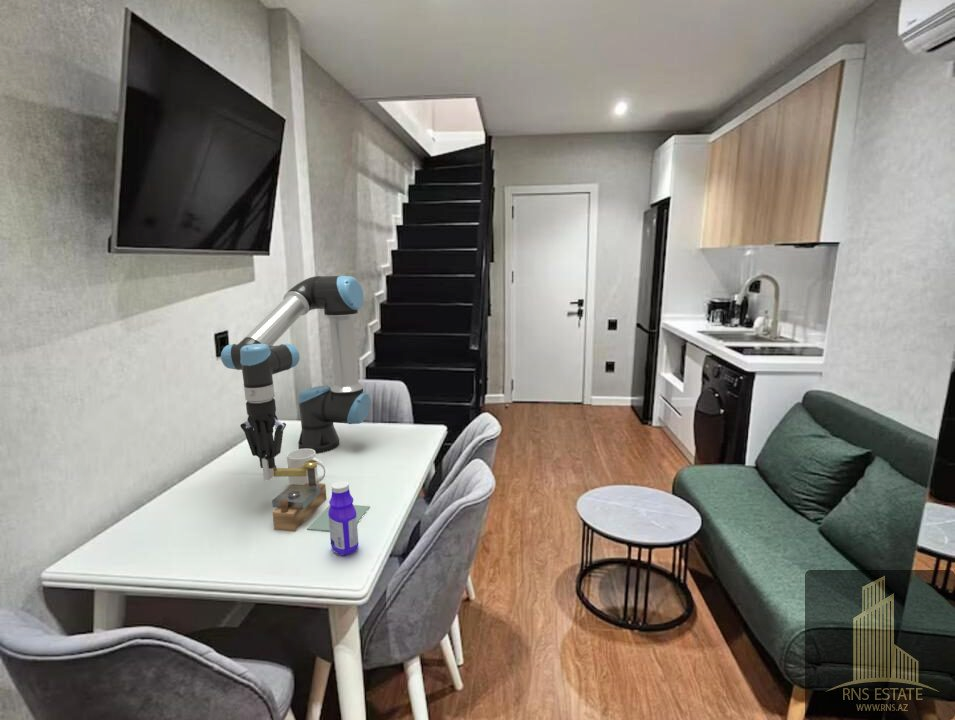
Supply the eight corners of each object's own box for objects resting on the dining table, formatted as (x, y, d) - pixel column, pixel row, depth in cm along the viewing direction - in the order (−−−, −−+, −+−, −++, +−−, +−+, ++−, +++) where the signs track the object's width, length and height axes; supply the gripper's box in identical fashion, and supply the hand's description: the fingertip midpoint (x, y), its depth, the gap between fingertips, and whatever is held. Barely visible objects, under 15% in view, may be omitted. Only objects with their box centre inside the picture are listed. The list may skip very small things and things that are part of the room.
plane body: (308, 497, 151) (304, 463, 149) (326, 499, 150) (323, 464, 148) (274, 529, 134) (270, 491, 131) (294, 531, 133) (290, 492, 130)
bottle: (363, 549, 124) (358, 484, 120) (343, 560, 119) (338, 492, 116) (346, 539, 128) (341, 476, 125) (327, 548, 124) (321, 483, 121)
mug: (319, 492, 154) (316, 460, 152) (284, 490, 156) (281, 458, 154) (332, 480, 162) (330, 449, 160) (299, 478, 165) (296, 447, 163)
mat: (331, 504, 147) (331, 503, 146) (369, 507, 144) (369, 506, 144) (307, 529, 133) (307, 528, 133) (349, 533, 131) (349, 532, 131)
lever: (319, 472, 149) (318, 460, 148) (315, 477, 145) (314, 465, 144) (272, 472, 149) (270, 460, 148) (266, 478, 145) (265, 465, 144)
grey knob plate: (292, 490, 145) (291, 482, 144) (321, 492, 143) (320, 484, 143) (272, 507, 135) (271, 498, 135) (303, 509, 134) (302, 500, 133)
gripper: (230, 402, 137) (240, 482, 142) (274, 404, 135) (282, 485, 140) (247, 395, 144) (256, 471, 149) (288, 396, 142) (296, 474, 147)
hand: (269, 478), depth 144 cm, fingers closed
